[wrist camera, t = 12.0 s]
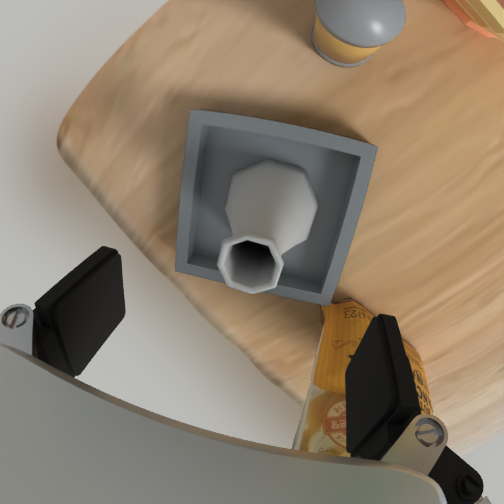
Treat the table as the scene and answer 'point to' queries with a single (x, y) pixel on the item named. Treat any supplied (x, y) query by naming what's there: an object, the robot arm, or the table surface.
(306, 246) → the tray
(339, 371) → the pancake mix bag
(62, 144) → the table surface
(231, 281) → the flask
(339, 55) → the fuse
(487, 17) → the potted cactus
